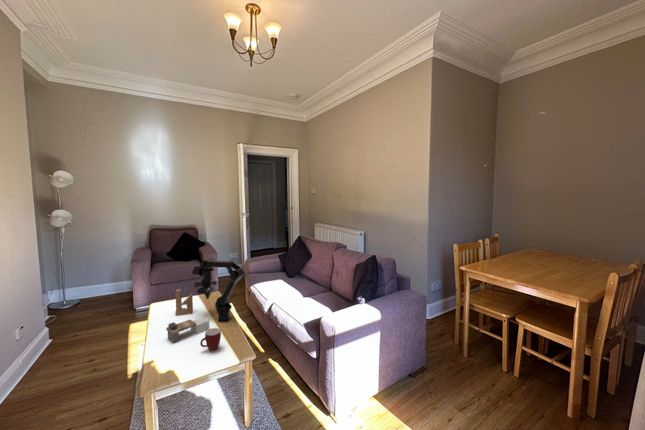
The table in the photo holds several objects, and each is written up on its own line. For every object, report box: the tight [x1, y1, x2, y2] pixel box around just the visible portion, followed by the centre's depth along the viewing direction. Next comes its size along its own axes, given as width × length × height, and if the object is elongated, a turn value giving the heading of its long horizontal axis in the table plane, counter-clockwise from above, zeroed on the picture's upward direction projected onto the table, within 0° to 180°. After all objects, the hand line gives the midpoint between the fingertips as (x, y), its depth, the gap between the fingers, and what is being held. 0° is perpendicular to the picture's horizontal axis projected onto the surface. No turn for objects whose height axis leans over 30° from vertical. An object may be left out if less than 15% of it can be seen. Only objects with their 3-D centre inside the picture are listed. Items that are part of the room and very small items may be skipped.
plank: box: [165, 319, 196, 335], centre depth 161 cm, size 14×8×4 cm, turn 141°
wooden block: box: [175, 288, 194, 316], centre depth 192 cm, size 4×11×18 cm, turn 111°
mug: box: [199, 327, 222, 352], centre depth 148 cm, size 10×8×10 cm
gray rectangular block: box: [167, 316, 210, 344], centre depth 165 cm, size 22×8×6 cm, turn 141°
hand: (207, 298), depth 187 cm, fingers closed
